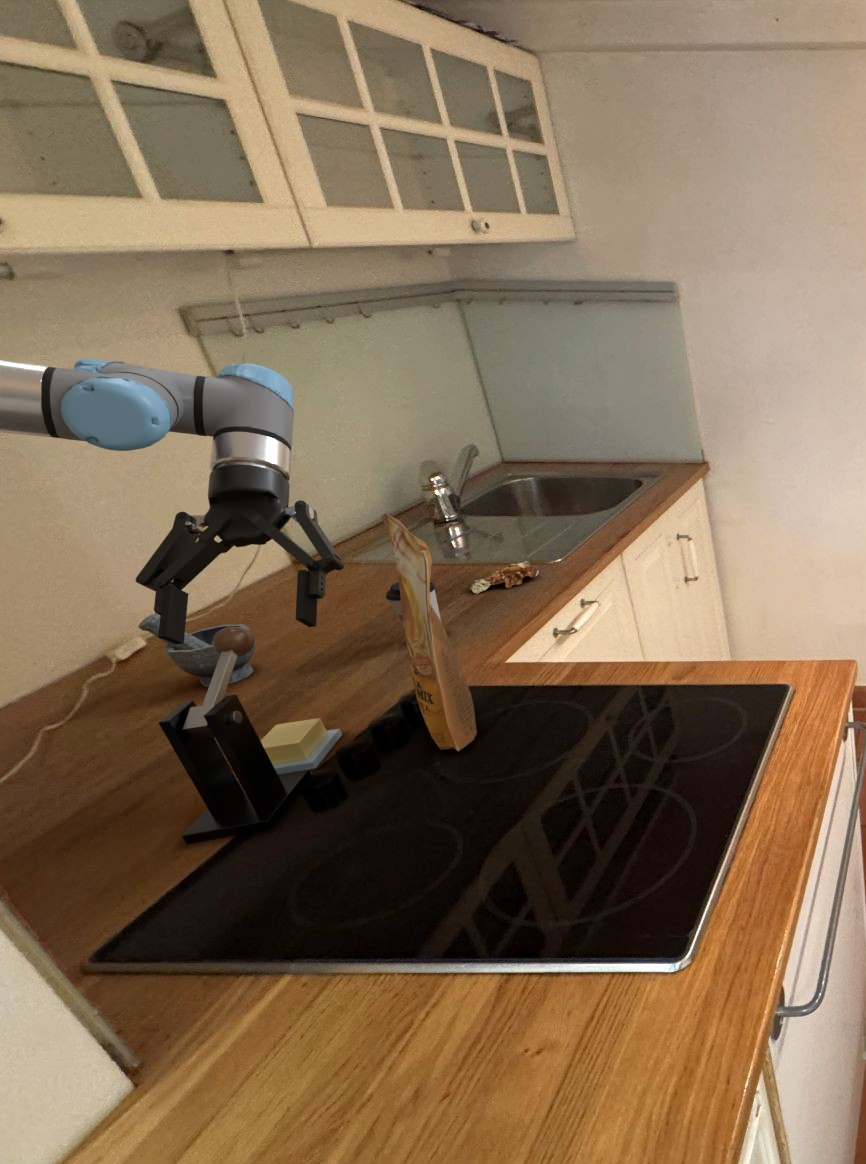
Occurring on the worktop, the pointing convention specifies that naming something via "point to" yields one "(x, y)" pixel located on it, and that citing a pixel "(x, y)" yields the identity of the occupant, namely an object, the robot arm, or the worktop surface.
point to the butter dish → (299, 745)
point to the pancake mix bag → (430, 646)
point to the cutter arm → (219, 677)
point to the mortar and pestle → (200, 652)
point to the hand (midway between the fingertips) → (239, 631)
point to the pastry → (506, 576)
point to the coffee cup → (395, 600)
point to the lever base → (231, 773)
